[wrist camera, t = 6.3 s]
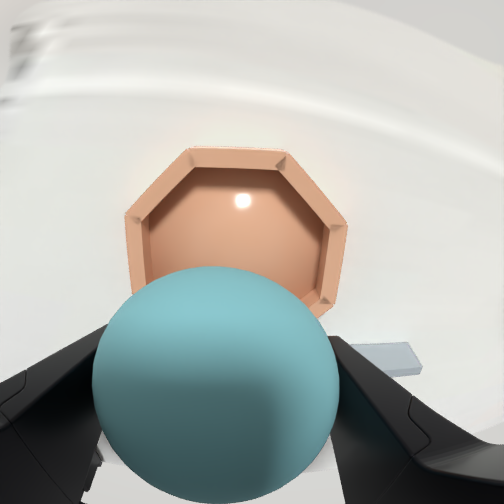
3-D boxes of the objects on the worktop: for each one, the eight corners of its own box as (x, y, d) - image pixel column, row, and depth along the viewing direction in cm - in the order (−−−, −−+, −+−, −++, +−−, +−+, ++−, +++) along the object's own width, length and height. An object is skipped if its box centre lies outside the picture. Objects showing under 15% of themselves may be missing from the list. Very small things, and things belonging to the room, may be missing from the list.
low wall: (119, 340, 18) (105, 366, 16) (117, 333, 18) (103, 358, 16) (405, 349, 18) (419, 374, 16) (407, 342, 18) (422, 366, 16)
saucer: (146, 326, 18) (139, 342, 16) (134, 147, 14) (122, 149, 13) (320, 335, 18) (324, 351, 17) (346, 155, 14) (355, 158, 13)
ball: (146, 379, 11) (102, 513, 6) (125, 228, 9) (0, 350, 4) (303, 388, 11) (325, 531, 6) (329, 237, 9) (419, 384, 4)
